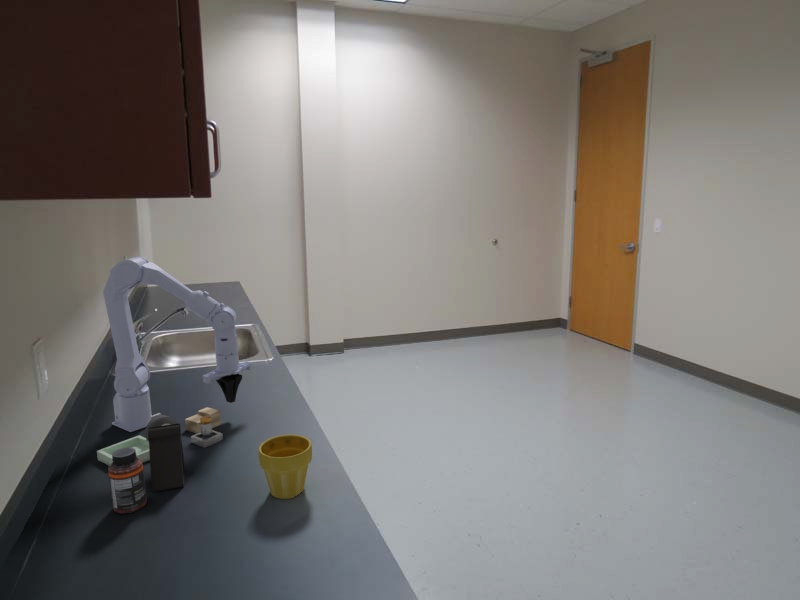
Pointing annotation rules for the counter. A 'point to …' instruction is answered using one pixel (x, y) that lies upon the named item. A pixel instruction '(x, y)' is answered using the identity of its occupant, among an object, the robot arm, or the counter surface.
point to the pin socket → (207, 442)
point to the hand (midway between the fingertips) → (230, 401)
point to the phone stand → (166, 457)
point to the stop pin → (206, 427)
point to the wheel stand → (158, 422)
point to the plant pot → (285, 464)
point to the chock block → (194, 421)
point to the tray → (136, 442)
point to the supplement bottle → (127, 481)
